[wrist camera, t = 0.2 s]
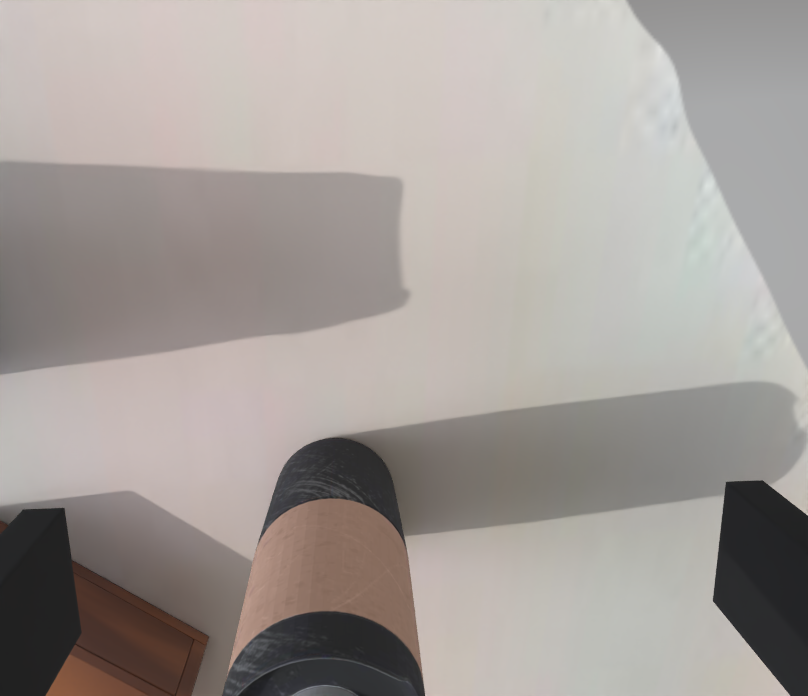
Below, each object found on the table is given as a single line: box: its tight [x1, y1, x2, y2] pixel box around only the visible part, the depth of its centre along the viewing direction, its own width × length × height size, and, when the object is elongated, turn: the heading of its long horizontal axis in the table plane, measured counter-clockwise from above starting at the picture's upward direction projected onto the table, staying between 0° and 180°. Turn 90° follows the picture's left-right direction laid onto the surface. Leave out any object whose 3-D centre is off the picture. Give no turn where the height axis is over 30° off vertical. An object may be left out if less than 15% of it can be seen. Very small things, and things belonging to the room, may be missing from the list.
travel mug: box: [222, 438, 425, 696], centre depth 35 cm, size 8×8×20 cm
